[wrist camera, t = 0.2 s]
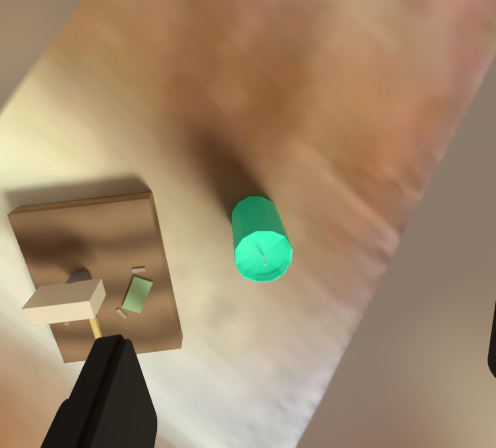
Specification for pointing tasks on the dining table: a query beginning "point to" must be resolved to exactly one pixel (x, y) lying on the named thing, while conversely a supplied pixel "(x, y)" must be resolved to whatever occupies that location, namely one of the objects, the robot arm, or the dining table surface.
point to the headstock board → (104, 268)
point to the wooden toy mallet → (67, 301)
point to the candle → (259, 240)
